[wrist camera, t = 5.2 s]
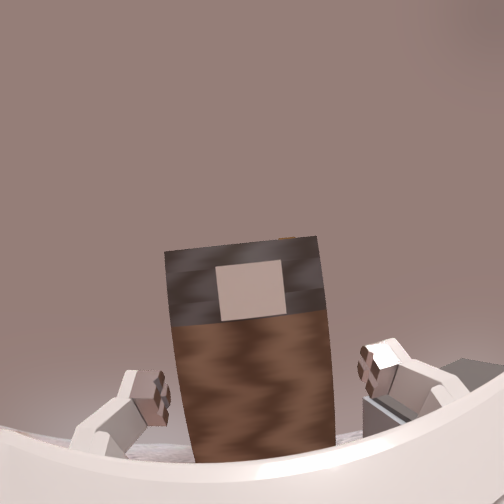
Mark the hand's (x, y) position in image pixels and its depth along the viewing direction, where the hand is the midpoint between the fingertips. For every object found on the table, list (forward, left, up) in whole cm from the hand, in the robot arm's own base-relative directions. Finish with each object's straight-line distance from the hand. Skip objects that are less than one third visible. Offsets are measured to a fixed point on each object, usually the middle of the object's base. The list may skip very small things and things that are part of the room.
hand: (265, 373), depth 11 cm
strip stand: (0, +19, -23) cm, 30 cm away
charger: (0, +13, +3) cm, 13 cm away
